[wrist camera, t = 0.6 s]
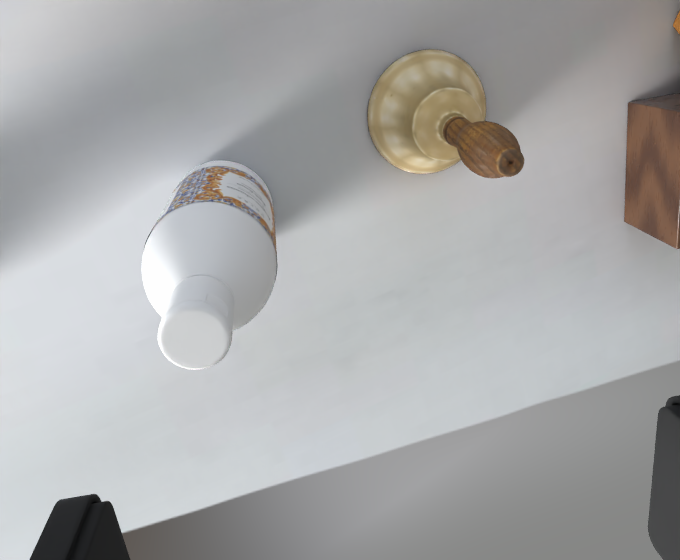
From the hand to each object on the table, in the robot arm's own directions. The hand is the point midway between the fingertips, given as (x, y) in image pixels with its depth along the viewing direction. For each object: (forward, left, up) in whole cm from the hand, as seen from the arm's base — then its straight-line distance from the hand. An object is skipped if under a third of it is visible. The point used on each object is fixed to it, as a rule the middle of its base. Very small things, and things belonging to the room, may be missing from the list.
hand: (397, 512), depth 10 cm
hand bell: (-1, +9, -35) cm, 36 cm away
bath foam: (+3, -6, -35) cm, 35 cm away
